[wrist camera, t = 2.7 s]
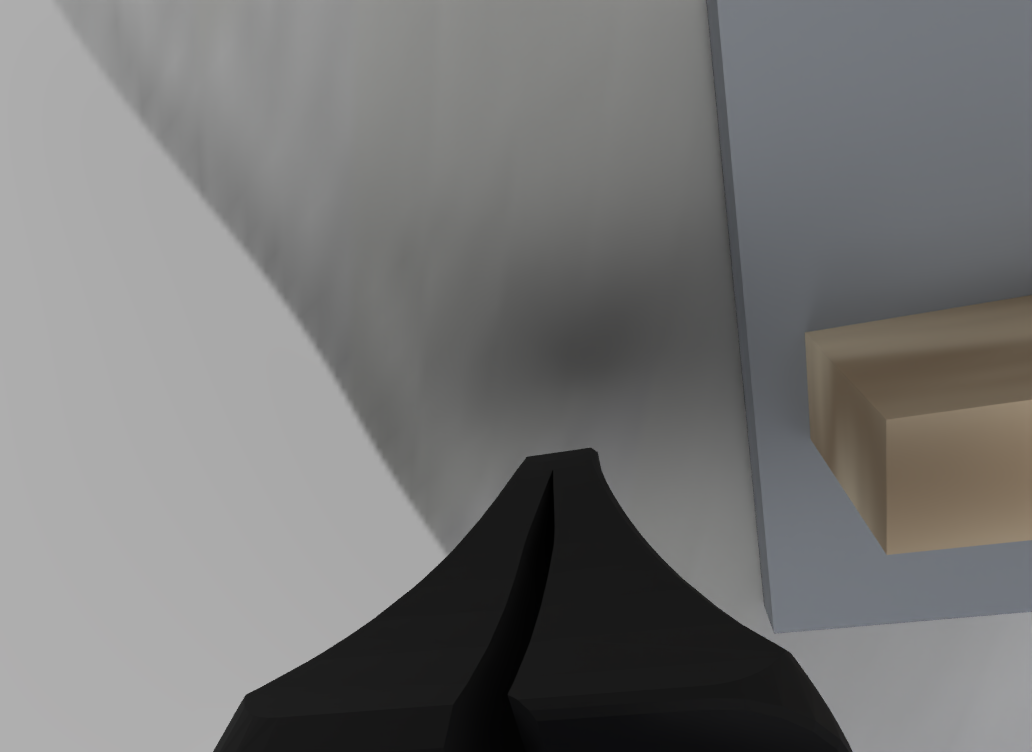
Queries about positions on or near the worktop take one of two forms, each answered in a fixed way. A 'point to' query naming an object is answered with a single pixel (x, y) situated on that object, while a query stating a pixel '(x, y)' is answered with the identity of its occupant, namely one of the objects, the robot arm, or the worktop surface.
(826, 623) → the board
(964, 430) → the t block
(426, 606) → the robot arm
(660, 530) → the worktop surface
